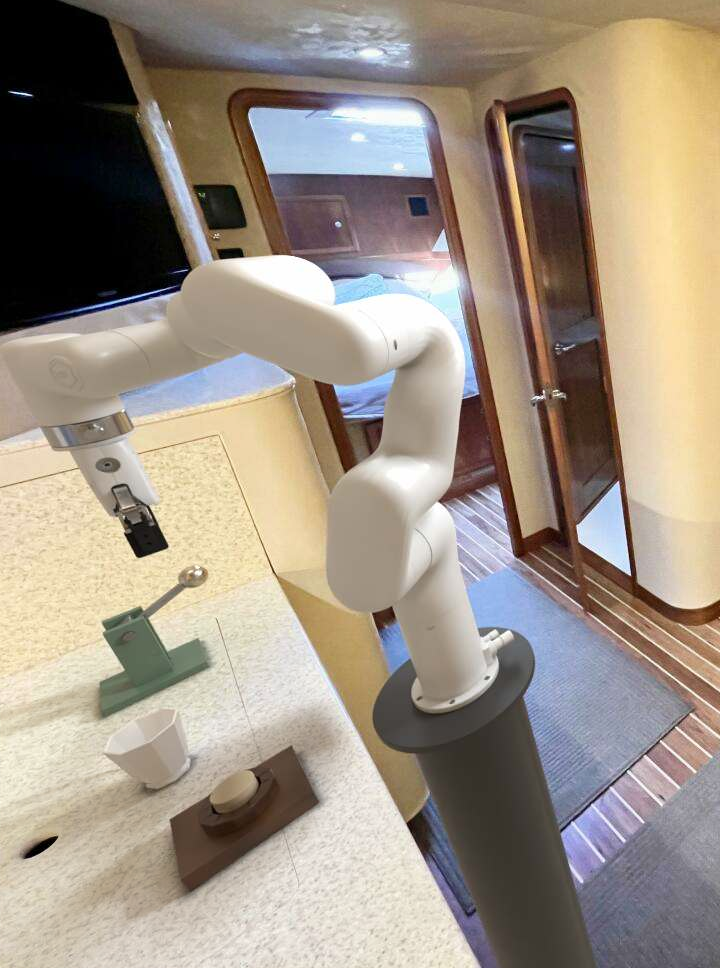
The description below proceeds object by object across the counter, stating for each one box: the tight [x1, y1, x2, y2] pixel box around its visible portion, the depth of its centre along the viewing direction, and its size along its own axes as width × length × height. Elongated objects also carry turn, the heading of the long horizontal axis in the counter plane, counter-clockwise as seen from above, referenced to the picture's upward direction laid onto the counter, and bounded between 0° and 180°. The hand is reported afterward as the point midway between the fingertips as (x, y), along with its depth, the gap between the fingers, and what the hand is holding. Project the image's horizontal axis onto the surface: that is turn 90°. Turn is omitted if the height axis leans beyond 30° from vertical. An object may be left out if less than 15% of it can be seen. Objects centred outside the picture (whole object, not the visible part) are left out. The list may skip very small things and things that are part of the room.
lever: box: [113, 565, 209, 628], centre depth 86 cm, size 13×4×4 cm, turn 140°
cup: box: [101, 707, 192, 790], centre depth 70 cm, size 7×10×8 cm
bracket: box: [98, 605, 210, 717], centre depth 85 cm, size 12×9×12 cm
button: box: [210, 769, 259, 814], centre depth 63 cm, size 4×4×2 cm
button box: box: [169, 744, 320, 893], centre depth 64 cm, size 12×10×4 cm
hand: (148, 541), depth 76 cm, fingers open, 9 cm apart
